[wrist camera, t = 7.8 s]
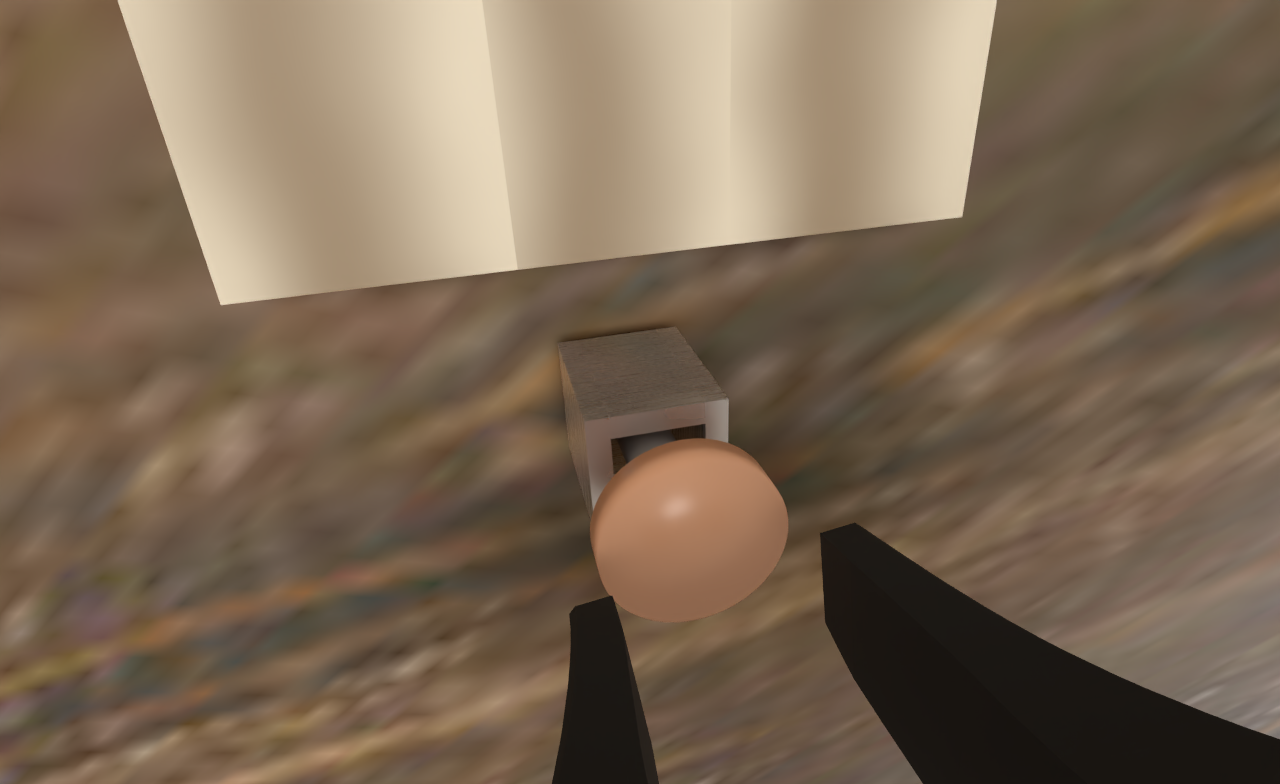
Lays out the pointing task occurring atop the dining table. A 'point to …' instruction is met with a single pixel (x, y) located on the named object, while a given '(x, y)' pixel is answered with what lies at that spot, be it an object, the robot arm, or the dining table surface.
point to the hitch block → (549, 128)
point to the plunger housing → (634, 399)
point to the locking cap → (686, 527)
